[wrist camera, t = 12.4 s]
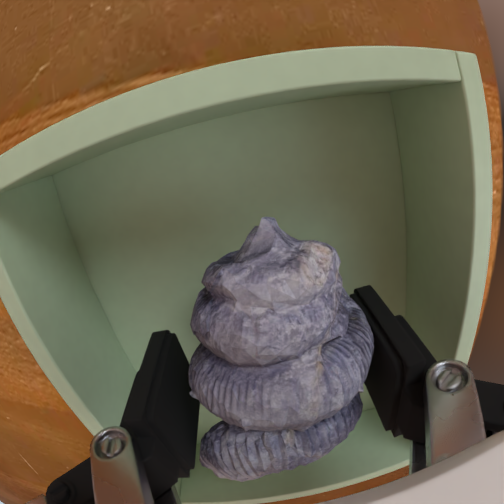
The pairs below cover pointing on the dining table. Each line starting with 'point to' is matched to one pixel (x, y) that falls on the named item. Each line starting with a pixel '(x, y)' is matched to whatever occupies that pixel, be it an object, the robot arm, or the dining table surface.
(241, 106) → the box
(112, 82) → the dining table surface
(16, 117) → the dining table surface
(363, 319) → the seashell
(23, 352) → the dining table surface
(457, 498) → the robot arm
